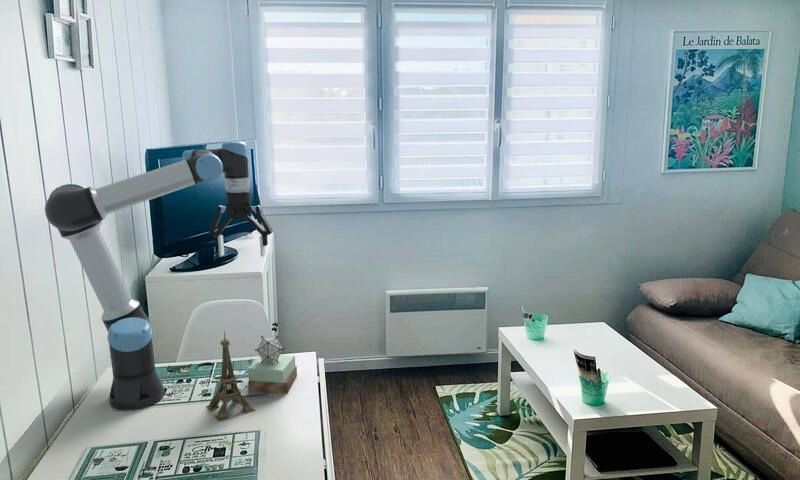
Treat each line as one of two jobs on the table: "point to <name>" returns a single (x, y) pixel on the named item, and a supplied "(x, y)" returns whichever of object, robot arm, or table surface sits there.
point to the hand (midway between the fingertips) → (242, 255)
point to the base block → (273, 385)
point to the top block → (272, 369)
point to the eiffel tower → (226, 392)
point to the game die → (269, 349)
